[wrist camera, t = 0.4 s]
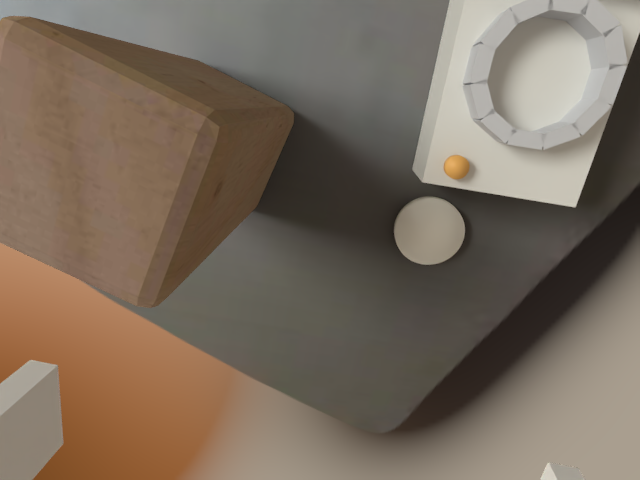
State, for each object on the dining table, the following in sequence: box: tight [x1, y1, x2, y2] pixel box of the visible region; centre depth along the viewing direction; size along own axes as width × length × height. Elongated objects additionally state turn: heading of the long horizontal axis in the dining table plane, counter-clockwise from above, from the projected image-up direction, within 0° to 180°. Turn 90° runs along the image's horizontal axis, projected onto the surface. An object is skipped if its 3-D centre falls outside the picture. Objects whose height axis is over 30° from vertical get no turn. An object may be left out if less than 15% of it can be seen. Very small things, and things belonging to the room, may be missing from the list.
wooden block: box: [0, 16, 294, 308], centre depth 27 cm, size 10×10×20 cm
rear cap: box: [394, 196, 465, 265], centre depth 36 cm, size 6×6×2 cm
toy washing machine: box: [412, 0, 640, 207], centre depth 29 cm, size 16×11×8 cm
